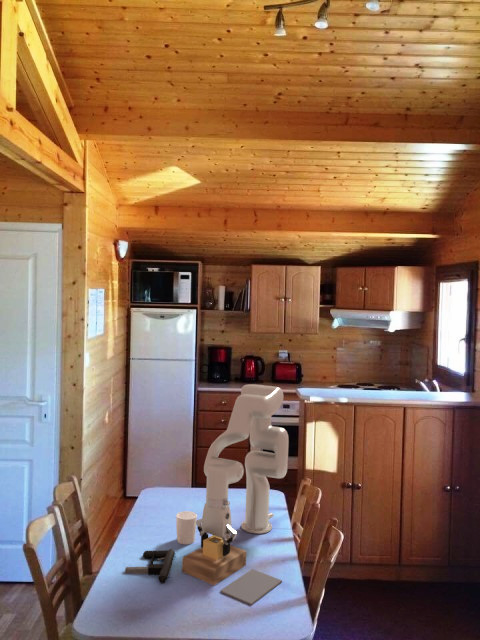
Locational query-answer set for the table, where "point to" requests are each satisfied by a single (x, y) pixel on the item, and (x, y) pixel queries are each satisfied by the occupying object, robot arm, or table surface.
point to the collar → (213, 547)
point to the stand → (213, 565)
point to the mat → (251, 587)
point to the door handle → (156, 569)
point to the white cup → (186, 527)
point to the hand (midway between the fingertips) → (215, 550)
